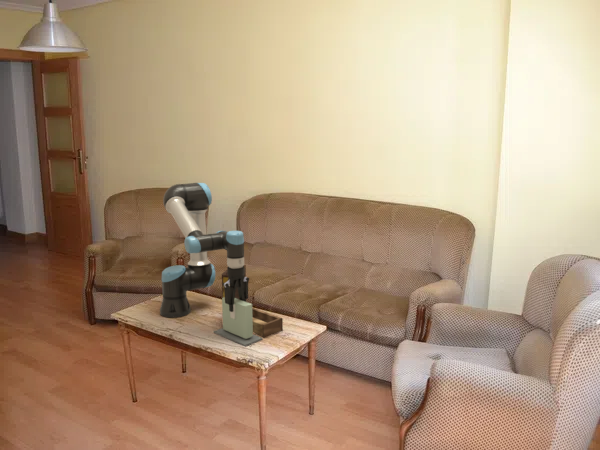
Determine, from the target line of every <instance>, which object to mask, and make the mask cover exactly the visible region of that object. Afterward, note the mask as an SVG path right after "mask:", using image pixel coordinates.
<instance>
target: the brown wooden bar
mask: <svg viewBox="0 0 600 450" xmlns="http://www.w3.org/2000/svg"><path fill="white" fill-rule="evenodd" d="M265 323H267V322H264V321H261V320H259V319H256V318H253V334H254V335H257V336H259V337H263V324H265Z"/></svg>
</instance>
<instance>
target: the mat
mask: <svg viewBox="0 0 600 450" xmlns="http://www.w3.org/2000/svg"><path fill="white" fill-rule="evenodd" d="M213 333H214V334H216V335H218V336H220V337H223V338H225V339H227V340H229V341H232V342H234V343H236V344H238V345H240V346H243V347H248V346H250V345H252V344H255V343H257V342H260V341H262V340H263V337H262V336H260V335H257V334H255V333H253V336H252V337H250V338H247V339H245V338H243V337H240V336H238V335H235V334H233V333H231V332H228V331H226V330H224V329H223V327H222V328H219V329H216V330H213Z"/></svg>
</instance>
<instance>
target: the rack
mask: <svg viewBox="0 0 600 450" xmlns="http://www.w3.org/2000/svg"><path fill="white" fill-rule="evenodd" d="M252 317H253V318H256V319H259V320H261V321H264V322H267V323H265V324H263V336H262V338H264V339H266V338H268V337H270V336H272V335H275V334H278V333H280V332H283V326H284V324H283V319H284V318H282V317H280V316H278V315H275V314H272V313H269V312H266V311H264V310H261V309H258V308H255V307H252Z"/></svg>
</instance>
